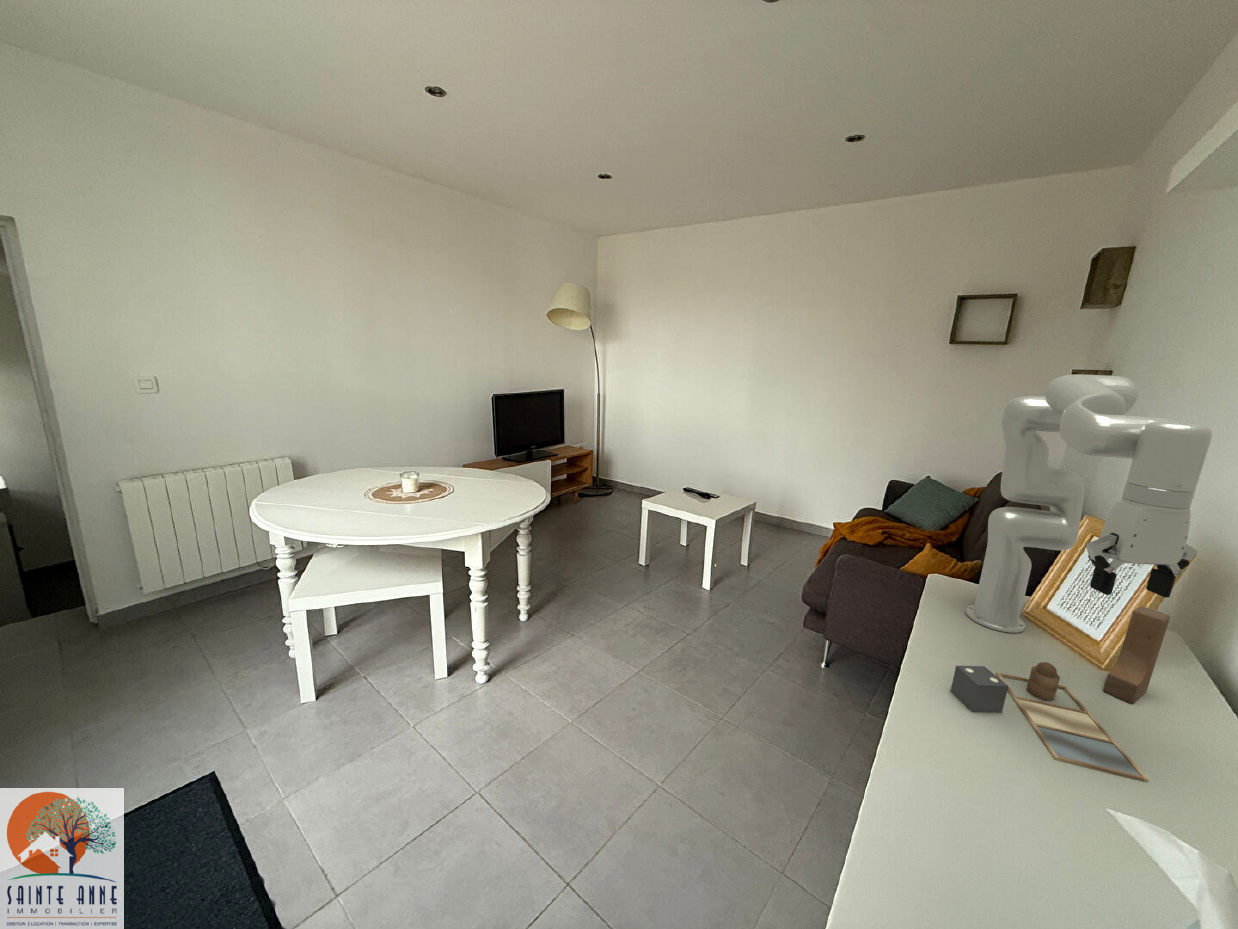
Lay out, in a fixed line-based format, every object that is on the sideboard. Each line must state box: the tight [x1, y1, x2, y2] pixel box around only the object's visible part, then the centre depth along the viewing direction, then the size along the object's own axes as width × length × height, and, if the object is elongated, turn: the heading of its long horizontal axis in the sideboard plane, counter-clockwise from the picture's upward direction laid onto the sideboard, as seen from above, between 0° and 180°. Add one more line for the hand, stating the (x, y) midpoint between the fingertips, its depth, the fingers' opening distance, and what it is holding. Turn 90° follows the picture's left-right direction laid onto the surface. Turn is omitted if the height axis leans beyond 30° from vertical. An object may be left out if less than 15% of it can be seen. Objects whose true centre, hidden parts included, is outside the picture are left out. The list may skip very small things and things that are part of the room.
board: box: [995, 671, 1150, 783], centre depth 91 cm, size 24×12×1 cm, turn 161°
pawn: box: [1026, 661, 1061, 702], centre depth 98 cm, size 4×4×7 cm
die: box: [950, 665, 1009, 713], centre depth 95 cm, size 6×6×6 cm
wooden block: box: [1102, 605, 1171, 704], centre depth 98 cm, size 9×4×18 cm, turn 119°
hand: (1128, 592), depth 81 cm, fingers open, 9 cm apart
